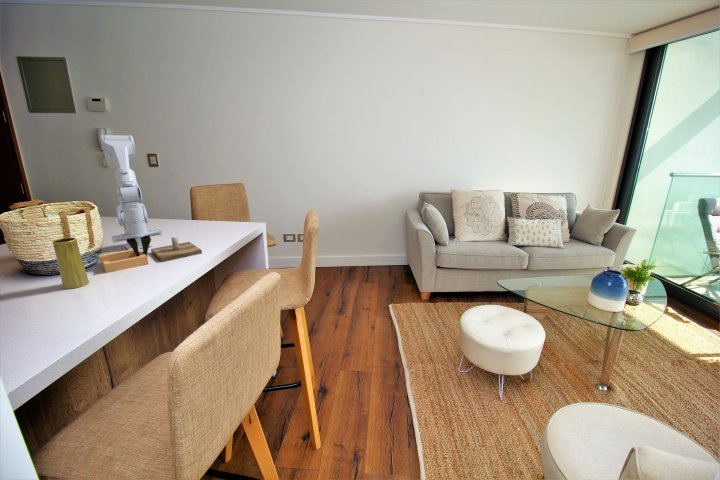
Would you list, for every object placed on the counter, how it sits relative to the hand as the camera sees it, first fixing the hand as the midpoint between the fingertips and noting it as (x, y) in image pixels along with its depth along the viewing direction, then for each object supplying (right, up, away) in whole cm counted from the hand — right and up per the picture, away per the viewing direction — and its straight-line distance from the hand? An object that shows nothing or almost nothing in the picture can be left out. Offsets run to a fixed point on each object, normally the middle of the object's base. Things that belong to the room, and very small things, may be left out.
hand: (142, 257), depth 115 cm
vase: (-7, -7, -19) cm, 21 cm away
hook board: (+7, +1, +10) cm, 12 cm away
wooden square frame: (-5, -2, -2) cm, 6 cm away
